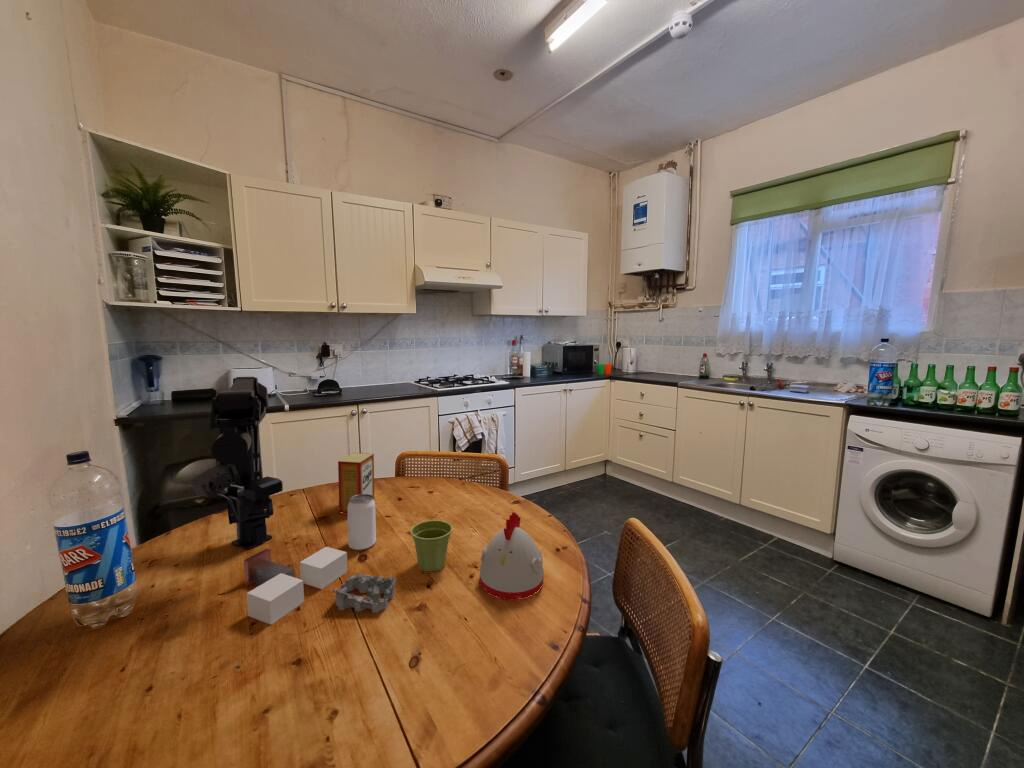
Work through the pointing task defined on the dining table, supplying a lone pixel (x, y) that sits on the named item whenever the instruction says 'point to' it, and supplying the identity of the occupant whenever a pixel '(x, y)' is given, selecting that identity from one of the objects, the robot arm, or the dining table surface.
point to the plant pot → (431, 543)
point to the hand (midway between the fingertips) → (241, 521)
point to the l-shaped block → (263, 568)
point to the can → (361, 522)
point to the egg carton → (365, 584)
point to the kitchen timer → (511, 563)
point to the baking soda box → (355, 477)
